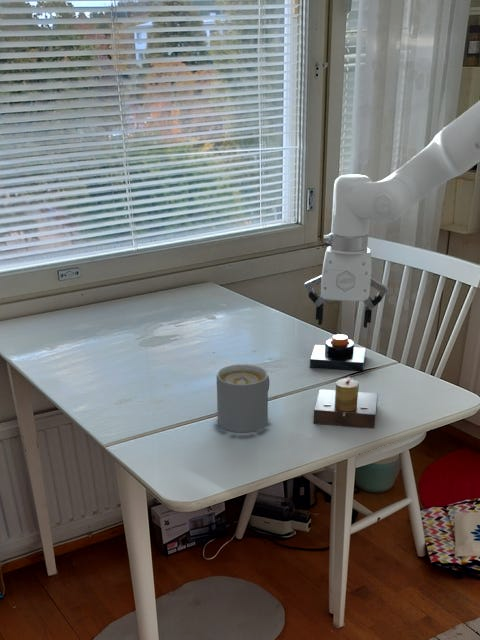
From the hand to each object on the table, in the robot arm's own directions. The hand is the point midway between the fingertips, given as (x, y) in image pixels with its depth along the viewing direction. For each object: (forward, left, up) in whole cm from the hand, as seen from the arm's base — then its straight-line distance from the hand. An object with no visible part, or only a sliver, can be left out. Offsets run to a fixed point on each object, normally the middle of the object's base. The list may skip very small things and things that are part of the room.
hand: (342, 324), depth 168 cm
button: (+1, -9, -8) cm, 12 cm away
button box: (+1, -7, -12) cm, 14 cm away
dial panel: (-3, +20, -12) cm, 23 cm away
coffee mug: (+16, +25, -12) cm, 32 cm away
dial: (-3, +22, -9) cm, 24 cm away
